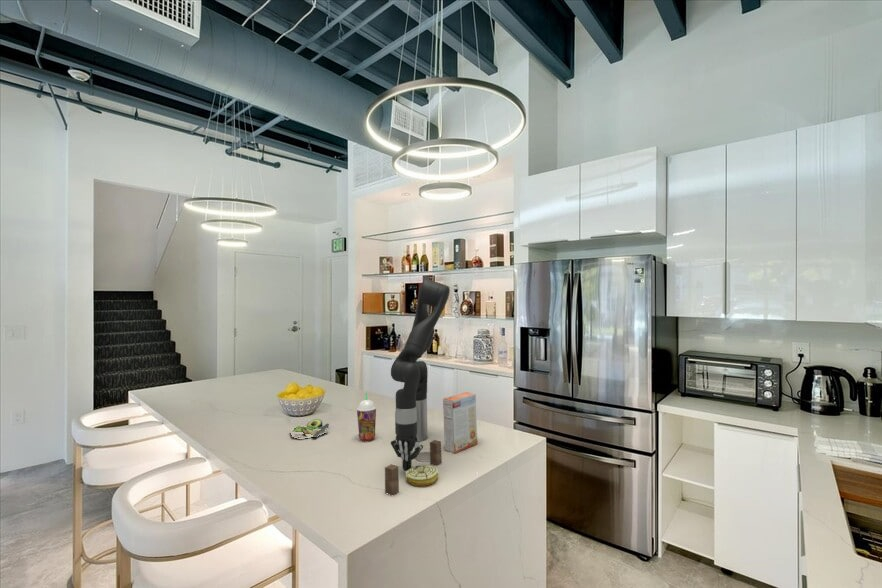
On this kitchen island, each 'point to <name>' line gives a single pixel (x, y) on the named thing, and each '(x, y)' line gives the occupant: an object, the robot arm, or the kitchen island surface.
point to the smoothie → (366, 419)
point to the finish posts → (392, 470)
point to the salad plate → (313, 428)
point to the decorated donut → (422, 475)
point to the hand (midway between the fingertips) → (407, 470)
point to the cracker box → (460, 422)
